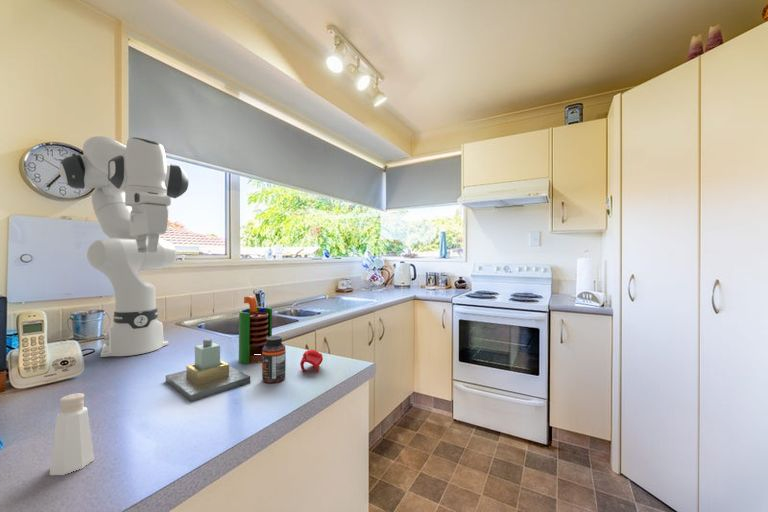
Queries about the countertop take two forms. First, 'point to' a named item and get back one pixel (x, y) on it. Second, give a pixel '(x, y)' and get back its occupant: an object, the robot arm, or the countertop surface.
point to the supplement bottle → (273, 360)
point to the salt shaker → (71, 437)
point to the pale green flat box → (207, 355)
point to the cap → (311, 359)
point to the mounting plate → (206, 380)
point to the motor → (253, 331)
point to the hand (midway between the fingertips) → (147, 252)
